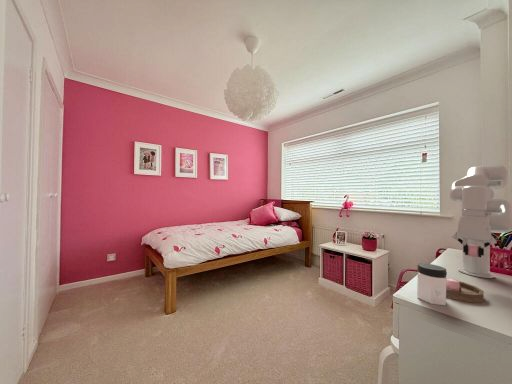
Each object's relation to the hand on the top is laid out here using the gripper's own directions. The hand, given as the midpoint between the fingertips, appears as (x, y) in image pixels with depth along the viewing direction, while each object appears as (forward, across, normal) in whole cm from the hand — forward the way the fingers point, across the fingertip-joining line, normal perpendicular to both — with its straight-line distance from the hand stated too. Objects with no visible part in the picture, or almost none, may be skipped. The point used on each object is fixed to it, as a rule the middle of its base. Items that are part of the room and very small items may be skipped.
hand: (473, 255), depth 91 cm
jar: (+13, +8, +33) cm, 37 cm away
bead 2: (0, 0, 0) cm, 0 cm away
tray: (+13, +4, +18) cm, 22 cm away
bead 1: (+11, +4, +22) cm, 25 cm away
